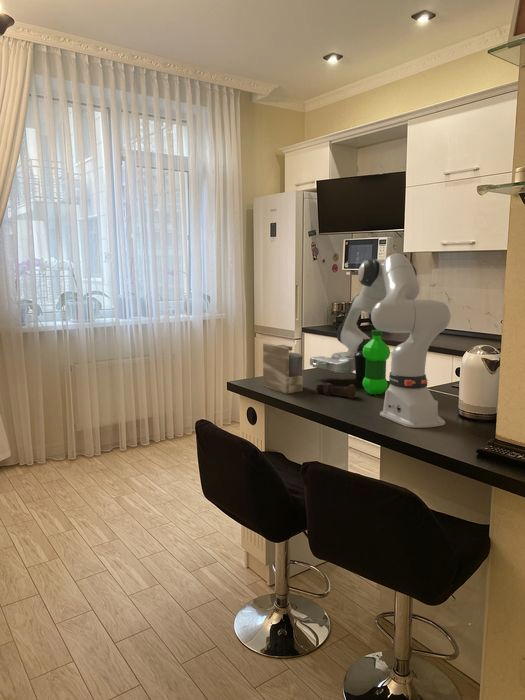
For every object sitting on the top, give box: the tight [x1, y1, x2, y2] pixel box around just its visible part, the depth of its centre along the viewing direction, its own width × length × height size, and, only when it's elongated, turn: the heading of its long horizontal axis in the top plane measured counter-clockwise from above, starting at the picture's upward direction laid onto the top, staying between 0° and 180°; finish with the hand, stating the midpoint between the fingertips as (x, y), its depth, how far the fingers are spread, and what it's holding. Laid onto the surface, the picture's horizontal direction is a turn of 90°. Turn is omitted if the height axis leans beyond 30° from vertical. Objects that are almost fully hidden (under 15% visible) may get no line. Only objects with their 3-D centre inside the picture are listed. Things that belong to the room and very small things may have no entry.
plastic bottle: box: [363, 329, 391, 396], centre depth 210 cm, size 10×10×25 cm
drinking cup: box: [354, 339, 366, 388], centre depth 222 cm, size 8×8×20 cm
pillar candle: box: [289, 350, 303, 377], centre depth 220 cm, size 10×10×15 cm
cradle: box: [262, 342, 304, 395], centre depth 218 cm, size 9×16×18 cm, turn 33°
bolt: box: [316, 382, 356, 399], centre depth 209 cm, size 6×5×15 cm
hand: (314, 365), depth 227 cm, fingers closed
